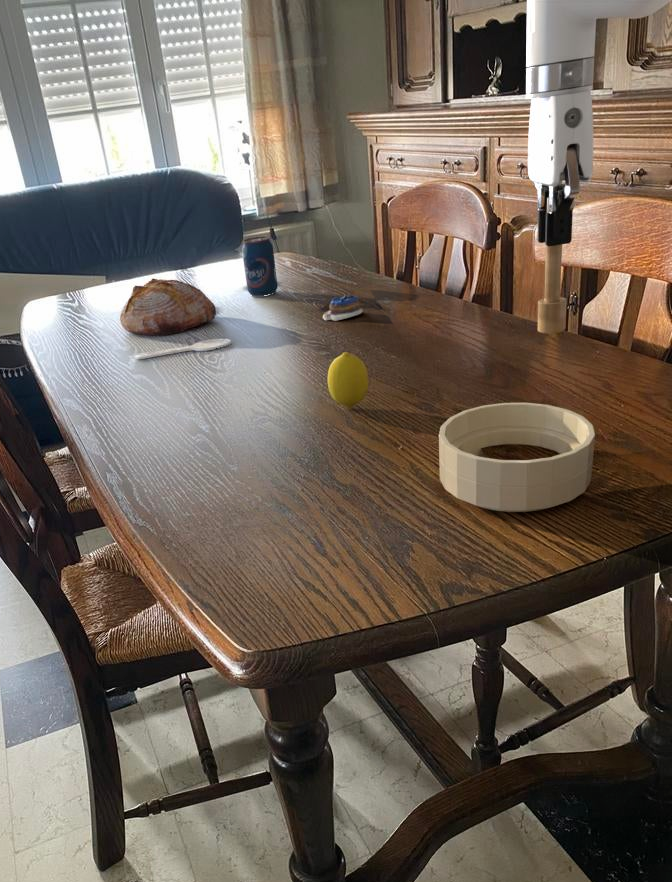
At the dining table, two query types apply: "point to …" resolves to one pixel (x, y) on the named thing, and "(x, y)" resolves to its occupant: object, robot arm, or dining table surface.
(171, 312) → the bread
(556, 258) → the pestle
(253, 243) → the soda can
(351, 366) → the lemon
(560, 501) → the bowl
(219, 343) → the spoon
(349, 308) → the dessert
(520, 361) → the dining table surface
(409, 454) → the dining table surface
